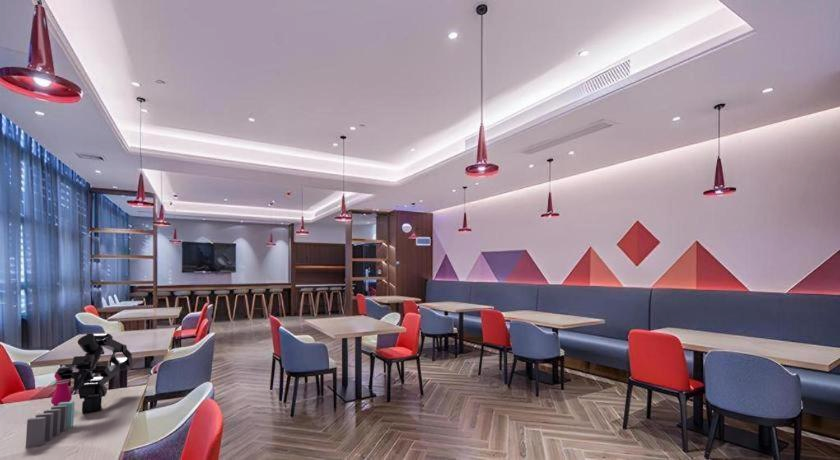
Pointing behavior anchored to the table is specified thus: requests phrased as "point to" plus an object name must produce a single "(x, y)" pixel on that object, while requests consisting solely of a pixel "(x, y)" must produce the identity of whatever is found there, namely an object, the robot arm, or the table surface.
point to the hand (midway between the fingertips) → (74, 390)
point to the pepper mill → (61, 391)
